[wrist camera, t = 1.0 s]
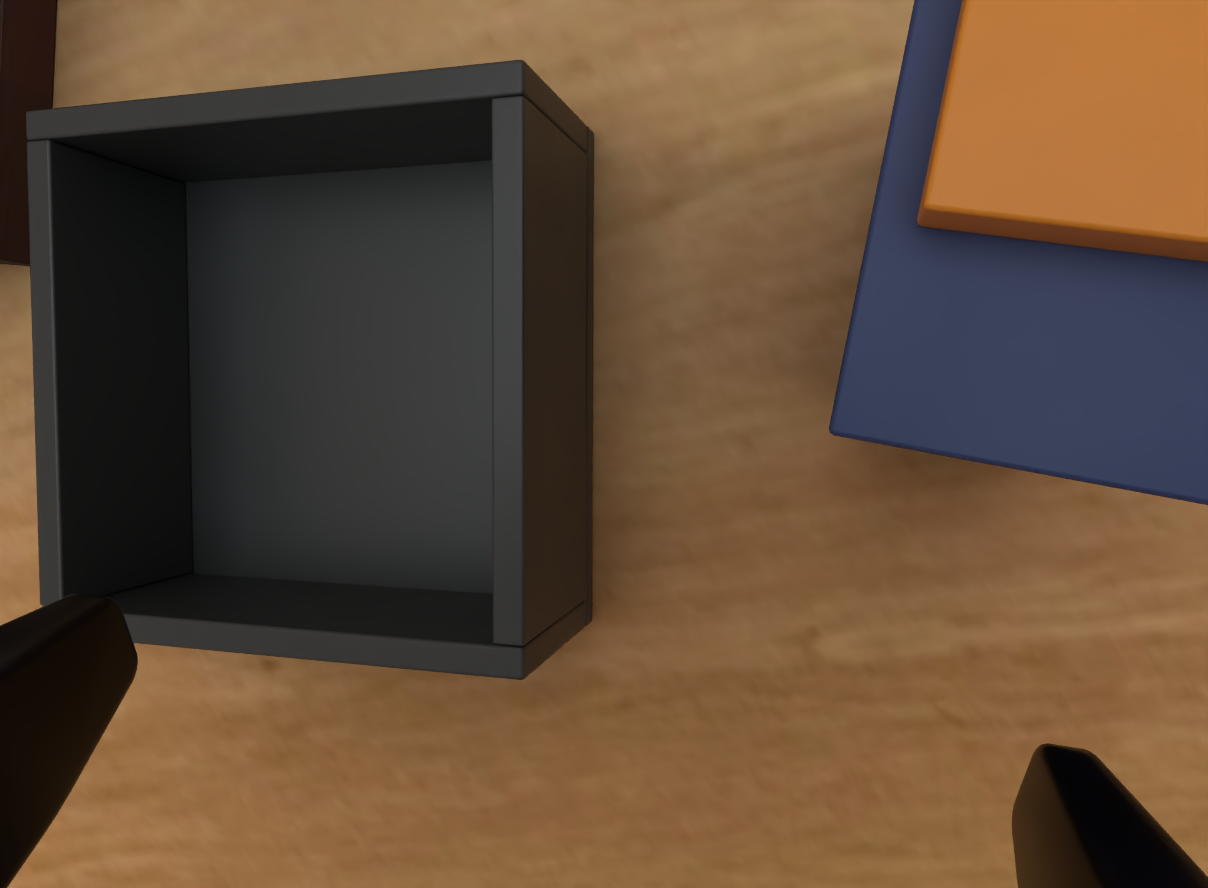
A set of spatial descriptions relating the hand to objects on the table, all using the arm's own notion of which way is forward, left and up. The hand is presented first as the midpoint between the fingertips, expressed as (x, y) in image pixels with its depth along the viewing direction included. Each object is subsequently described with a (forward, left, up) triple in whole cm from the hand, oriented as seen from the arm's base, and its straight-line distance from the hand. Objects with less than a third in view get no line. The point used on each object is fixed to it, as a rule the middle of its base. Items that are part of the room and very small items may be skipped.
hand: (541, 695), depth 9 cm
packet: (+5, -5, -14) cm, 16 cm away
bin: (+3, +10, -14) cm, 17 cm away
